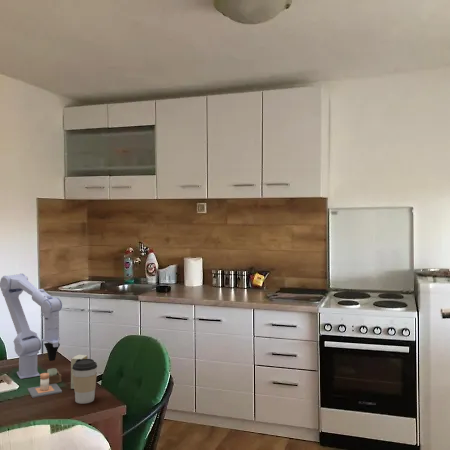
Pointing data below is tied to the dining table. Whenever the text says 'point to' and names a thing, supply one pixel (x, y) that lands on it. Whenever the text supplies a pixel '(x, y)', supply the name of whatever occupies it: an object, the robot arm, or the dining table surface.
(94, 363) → the coffee cup
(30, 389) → the grey square plate
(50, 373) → the button
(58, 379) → the button housing
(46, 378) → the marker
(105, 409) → the dining table surface
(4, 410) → the dining table surface
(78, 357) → the skincare box
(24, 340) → the robot arm
